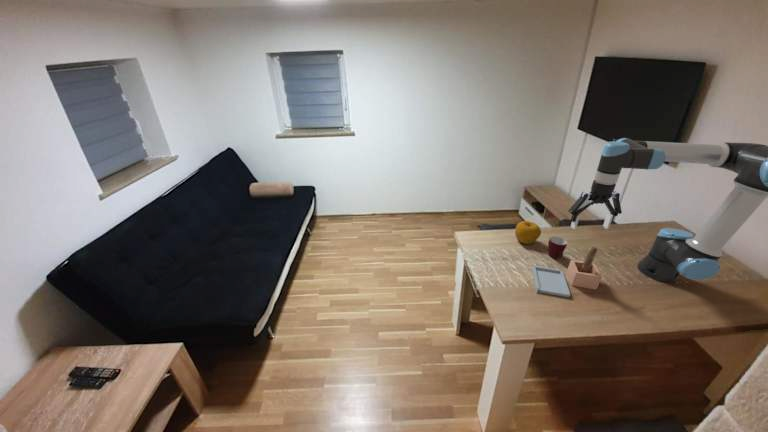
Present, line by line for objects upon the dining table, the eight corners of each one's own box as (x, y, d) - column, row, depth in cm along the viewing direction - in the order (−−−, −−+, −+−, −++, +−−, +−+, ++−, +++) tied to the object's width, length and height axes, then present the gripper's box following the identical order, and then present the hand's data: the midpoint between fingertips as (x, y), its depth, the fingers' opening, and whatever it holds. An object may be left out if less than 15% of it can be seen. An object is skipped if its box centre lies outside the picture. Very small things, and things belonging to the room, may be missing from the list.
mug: (568, 263, 152) (573, 247, 147) (552, 264, 152) (557, 248, 147) (556, 251, 161) (561, 236, 156) (541, 252, 161) (546, 236, 156)
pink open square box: (589, 277, 143) (594, 263, 139) (595, 290, 135) (601, 276, 131) (566, 273, 146) (570, 259, 142) (570, 286, 137) (576, 272, 133)
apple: (519, 232, 179) (523, 215, 173) (541, 241, 170) (546, 224, 165) (508, 240, 171) (512, 223, 166) (531, 250, 163) (536, 232, 157)
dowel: (583, 279, 141) (596, 247, 132) (585, 283, 138) (598, 250, 129) (576, 277, 141) (588, 245, 133) (578, 281, 139) (590, 249, 130)
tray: (531, 268, 149) (532, 265, 148) (560, 273, 145) (562, 269, 144) (536, 293, 134) (537, 289, 133) (569, 299, 130) (570, 295, 129)
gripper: (630, 177, 122) (613, 223, 132) (567, 178, 123) (555, 223, 133) (644, 184, 115) (625, 232, 125) (577, 185, 117) (563, 232, 127)
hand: (589, 227), depth 129 cm, fingers open, 13 cm apart
